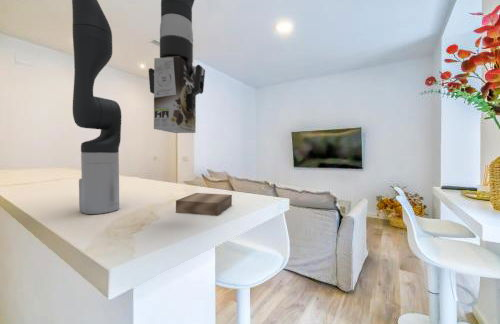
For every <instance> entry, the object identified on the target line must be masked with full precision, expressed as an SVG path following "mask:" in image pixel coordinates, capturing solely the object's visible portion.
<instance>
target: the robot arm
mask: <svg viewBox="0 0 500 324" xmlns="http://www.w3.org/2000/svg"><path fill="white" fill-rule="evenodd" d="M194 3H195V0H160V25H159V58H163V57H171V56H179V57H181V58H182V59H183V60H184V61H185V62H186V72H187V76H188V75H190V77H191V75H192V74H193V72H194V75H195V83H194V88H193V84H192V83H189V82H188V81H187V80H186V79H185V84H186V91H187V93H188V95H186V110H187V111H188V112H193V110H194V109H195V96H196V97H197V95H199V94H200V95H202V94H203V93H204V87H205V76H206V70H205V68H204V67H203V66H201V65H200V64H197V65H195V66H193V63H194V62H193V61H194V59H193V57H194V55H193V54H194V53H193V52H194V51H193V50H194V43H193V42H194V34H193V32H194V31H193V21H192V20H193V6H194ZM71 5H72V46H73V59H74V60H73V62H74V63H73V64H74V67H73V68H74V77H73V93H72V94H73V95H72V96H73V97H72V117H73V120H74V123H75V125H76V126H77V127H79V128H83V129H89V130H91V129H92V130H100V134H99V135H98V136H97V137H95V138H93V139H91V140H86V141H84V142H82V143H81V145H80V152H81V154H80V163H81V166H80V167H81V168H80V170H81V178H78V203H79V204H78V205H79V208H78V209H79V212H81V213H82V214H86V215H87V214H88V215H98V214H106V213H112V212H115V211H118V210H119V209H120V163H119V162H120V159H119V158H120V157H119V156H120V155H119V153H120V152H119V151H120V149H119V148H120V145H121V140H122V139H121V136H122V135H121V134H122V109H121V106H120V105H119V103H118V102H117V101H115V100H114V99H113V100H112V99H108V98H104V97H99V96H94V86H95V85H94V84H95V80H96V78H97V77H98V75H99V74H100V72H101V71H102V70H103V69H104V68H105V67H106V65H107V64H108V63H109V62H110V61H111V58H112V56H113V32H112V28H111V26H110V24H109V20H108V19H107V16H106V14H105V13H104V11H103V9H102V7H101V5H100V3H99V1H98V0H71ZM148 79H149V81H148V83H149V91H150V92H149V93H151V94H153V95H154V69H153V68H151V67H149V69H148Z"/></svg>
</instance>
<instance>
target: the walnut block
mask: <svg viewBox="0 0 500 324" xmlns="http://www.w3.org/2000/svg"><path fill="white" fill-rule="evenodd" d="M232 205H233V194H228V193H227V194H224V193H222V194H221V193H206V192H195V193H192V194H190V195H187V196H184V197H181V198H178V199H177V200H175V213H177V214H187V215H188V214H189V215H191V214H192V215H200V216H201V215H203V216H211V217H212V216H214V217H219V216H220V215H221V214H223V212H225V211H227V210H228V209H229V208H230V207H231V206H232Z"/></svg>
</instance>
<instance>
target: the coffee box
mask: <svg viewBox="0 0 500 324" xmlns="http://www.w3.org/2000/svg"><path fill="white" fill-rule="evenodd" d="M153 60H154V61H153V65H154V66H153V67H154V94H153V129H154V130H157V131H158V130H159V131H163V132H168V133H173V134H174V133H175V134H188V133H189V134H196V131H197V130H196V127H197V126H196V123H197V122H196V121H197V120H196V117H197V116H196V109H197V107H196V106H197V100H196V99H197V95H196V96H195V109H194V110H193V112H188V111H187V110H186V95H188V93H187V91H186V84H185V79H186V80H187V81H188V82H189V83H192V84H193V88H194V83H195V75H194V72H193V74H192V75H191V77H190V75H188V76H187V72H186V62H185V61H184V60H183V59H182V58H181V57H179V56H171V57H163V58H160V57H156V58H154V59H153Z"/></svg>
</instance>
